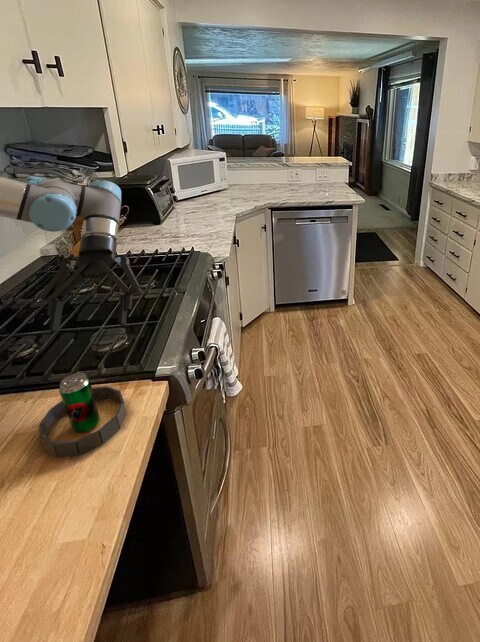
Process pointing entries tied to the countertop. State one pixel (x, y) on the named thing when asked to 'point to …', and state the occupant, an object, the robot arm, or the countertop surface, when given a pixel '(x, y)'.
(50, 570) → the countertop surface
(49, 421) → the gray segmented ring
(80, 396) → the soda can
